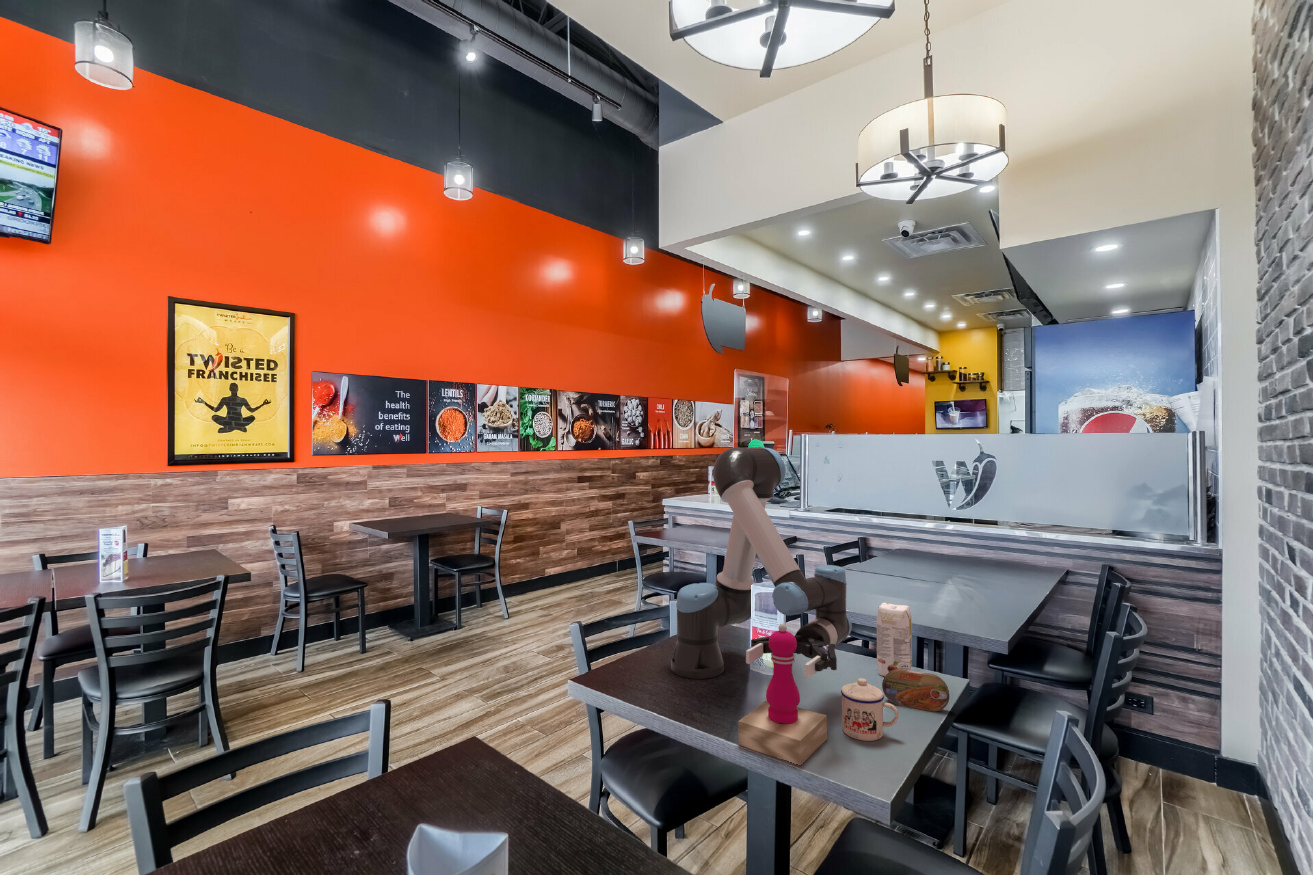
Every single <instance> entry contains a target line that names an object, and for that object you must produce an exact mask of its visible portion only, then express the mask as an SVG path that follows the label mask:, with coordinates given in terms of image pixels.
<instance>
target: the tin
mask: <svg viewBox="0 0 1313 875" xmlns="http://www.w3.org/2000/svg"><path fill="white" fill-rule="evenodd" d="M883 677H884V678H883V680H882V683H881V686H882V687H881V688H882V693H883V695H884V697H886V699H887V700H888V701H890V702H891V704H893V705H895V706H898V707H905V708H910V709H917V710H922V711H927V712H940V711H942V710H943V709H945V708H946V707H947V706H948V705H949V701H950V690H949V688H948V686H947V683H946V681H944V680H943V678H941V677H940V676H938V675H937V674H934V673H927V672H923V671H916V670H915V671H913V670H910V671H909V670H902V669H895V670H892V671H890V672H889V673H887V675H886V676H883Z"/></svg>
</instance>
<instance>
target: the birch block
mask: <svg viewBox="0 0 1313 875" xmlns="http://www.w3.org/2000/svg"><path fill="white" fill-rule="evenodd" d="M769 707H770V705H769V703H768V702H767V700H765V701H764V702H763V703H761V704H760V705H758V706H756V708H754V709H753V710H751V711H750V712H749V713H748V714H746V715H745V716H743V717H742V718H741V719H739V720H738V722H737V723H738V726H737V727H738V732H737V733H738V738H737V739H738V745H739V746H741V747H744V748H748V749H749V750H753V751H755V752H757V753H758V752H759V753H761V754H764V755H767V756H771V757H773V756H774V757H773V758H776V757H777V759H779V758H781V759H784V760H788V761H789V762H788V763H790V762H792V763H791V764H793V763H794V764H793V765H796V764H798V765H797V766H799V765H801V764H802V765H803V764H804V763H805V762H806V761H807V760H808V759H809V758H810V757H811V756H812V755H813V754H814V753H815V752H816V750H818V748H820V746H822V745H823V744H824V743H825V741H827V740H828V715H826V714H823V713H819V712H817V711H813V710H808V709H806V708H803V707H802V708H801V707H799V706H797V707H796V709H797V710H798V720H797V721H796V722H794V723H790V724H782V723H777V722H774V721H772V720H771V719H770V718H769V717H768V708H769ZM781 759H780V760H781ZM784 760H783V761H784ZM805 760H806V761H805ZM803 762H804V763H803ZM802 765H801V766H802Z"/></svg>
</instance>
